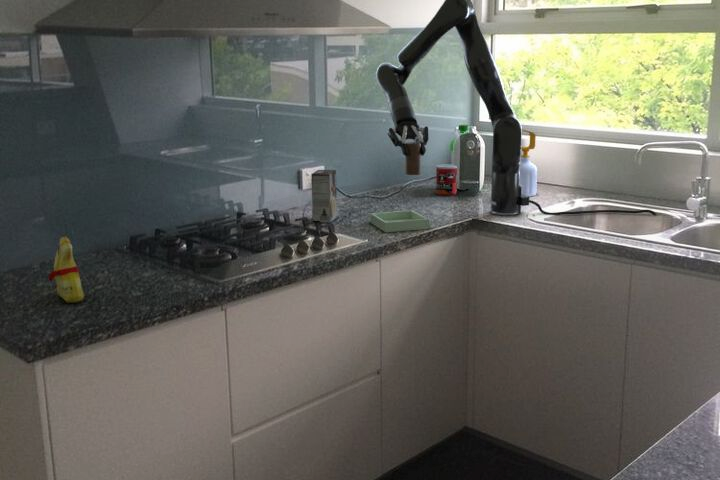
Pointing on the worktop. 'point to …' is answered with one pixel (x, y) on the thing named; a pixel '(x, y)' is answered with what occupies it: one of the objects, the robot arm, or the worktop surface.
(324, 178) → the coffee box
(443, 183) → the canned food
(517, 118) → the robot arm
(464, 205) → the worktop surface
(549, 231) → the worktop surface
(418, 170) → the pepper mill
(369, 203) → the worktop surface
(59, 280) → the chocolate bunny
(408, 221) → the tray
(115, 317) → the worktop surface
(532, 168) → the soap bottle
